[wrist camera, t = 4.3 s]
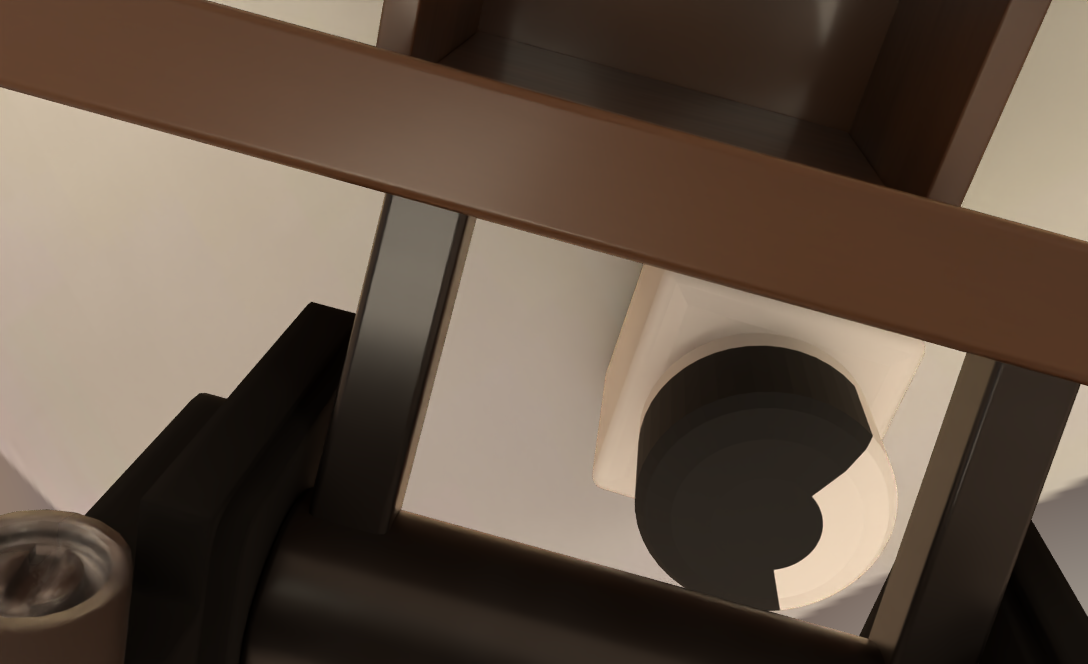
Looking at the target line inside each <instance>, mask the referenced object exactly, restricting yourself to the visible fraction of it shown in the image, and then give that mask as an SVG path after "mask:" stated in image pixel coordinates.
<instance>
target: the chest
mask: <svg viewBox="0 0 1088 664" xmlns="http://www.w3.org/2000/svg"><path fill="white" fill-rule="evenodd" d="M1051 1H1052V0H384V2H383V8H382V14H381V20H380V26H379V32H378V38H377V43H376V47H379V48H383V49H386V50H390V51H393V52H397V53H401V54H404V55H408V56H412V57H415V58H419V59H423V60H426V61H430V62H434V63H437V64H441V65H445V66H448V67H452V68H456V69H459V70H463V71H466V72H470V73H474V74H477V75H481V76H485V77H488V78H492V79H496V80H499V81H503V82H507V83H510V84H514V85H518V86H521V87H525V88H528V89H532V90H536V91H539V92H543V93H547V94H550V95H554V96H558V97H561V98H565V99H569V100H572V101H576V102H580V103H583V104H587V105H590V106H594V107H598V108H601V109H605V110H609V111H612V112H616V113H620V114H623V115H627V116H631V117H634V118H638V119H642V120H645V121H649V122H652V123H656V124H660V125H663V126H667V127H671V128H674V129H678V130H682V131H685V132H689V133H693V134H696V135H700V136H704V137H707V138H711V139H715V140H718V141H722V142H725V143H729V144H733V145H736V146H740V147H744V148H747V149H751V150H755V151H758V152H762V153H766V154H769V155H773V156H777V157H780V158H784V159H787V160H791V161H795V162H798V163H802V164H806V165H809V166H813V167H817V168H820V169H824V170H828V171H831V172H835V173H839V174H842V175H846V176H849V177H853V178H857V179H860V180H864V181H868V182H871V183H875V184H879V185H882V186H886V187H890V188H893V189H897V190H901V191H904V192H908V193H911V194H915V195H919V196H922V197H926V198H930V199H933V200H937V201H941V202H944V203H948V204H952V205H955V206H959V207H960V206H961V204H962V202H963V200H964V197H965V195H966V193H967V191H968V188H969V186H970V184H971V182H972V179H973V177H974V175H975V173H976V170H977V168H978V166H979V164H980V161H981V159H982V157H983V155H984V152H985V150H986V148H987V146H988V143H989V141H990V139H991V137H992V134H993V132H994V130H995V128H996V125H997V123H998V121H999V118H1000V116H1001V114H1002V112H1003V109H1004V107H1005V105H1006V103H1007V100H1008V98H1009V96H1010V94H1011V91H1012V89H1013V87H1014V85H1015V82H1016V80H1017V78H1018V76H1019V73H1020V71H1021V69H1022V67H1023V64H1024V62H1025V60H1026V58H1027V55H1028V53H1029V51H1030V49H1031V46H1032V44H1033V42H1034V40H1035V37H1036V35H1037V33H1038V31H1039V28H1040V26H1041V24H1042V22H1043V19H1044V17H1045V15H1046V13H1047V10H1048V8H1049V6H1050V3H1051Z"/></svg>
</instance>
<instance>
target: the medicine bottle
mask: <svg viewBox="0 0 1088 664" xmlns="http://www.w3.org/2000/svg"><path fill="white" fill-rule="evenodd" d="M924 352H925V344H924V342H923V340H919V339H915V338H912V337H908V336H904V335H901V334H897V333H894V332H890V331H886V330H883V329H879V328H875V327H872V326H868V325H864V324H861V323H857V322H854V321H850V320H846V319H843V318H839V317H835V316H832V315H828V314H824V313H821V312H817V311H814V310H810V309H806V308H803V307H799V306H795V305H792V304H788V303H784V302H781V301H777V300H773V299H770V298H766V297H763V296H759V295H755V294H752V293H748V292H744V291H741V290H737V289H733V288H730V287H726V286H723V285H719V284H715V283H712V282H708V281H704V280H701V279H697V278H693V277H690V276H686V275H683V274H679V273H675V272H672V271H668V270H664V269H661V268H657V267H653V266H650V265H646V264H644V265H643V268H642V270H641V273H640V276H639V279H638V282H637V285H636V288H635V291H634V294H633V297H632V300H631V302H630V305H629V308H628V311H627V314H626V317H625V320H624V323H623V326H622V329H621V332H620V334H619V337H618V340H617V343H616V346H615V349H614V352H613V355H612V358H611V361H610V364H609V366H608V369H607V372H606V377H605V384H604V392H603V399H602V406H601V414H600V421H599V429H598V436H597V443H596V451H595V458H594V465H593V475H592V478H593V481H594V482H595V484H596V486H598V487H600V488H602V489H605V490H608V491H612V492H615V493H618V494H621V495H625V496H628V497H631V498H635V513H636V519H637V525H638V528H639V531H640V534H641V537H642V539H643V541H644V543H645V545H646V547H647V549H648V551H649V553H650V554H651V555H652V557H653V558H654V559H655V561H656V562H657V563H658V565H659V566H660V567H661V568H662V569H663V570H664V571H665V572H666V573H667V574H668V575H669V576H670V577H671V578H672V579H674V580H675V581H676V582H678V583H679V584H680V585H682V586H683V587H685V588H686V589H690V590H693V591H697V592H701V593H704V594H708V595H712V596H715V597H719V598H722V599H726V600H730V601H733V602H737V603H740V604H744V605H748V606H751V607H755V608H759V609H762V610H766V611H775V610H785V609H792V608H798V607H801V606H805V605H809V604H812V603H815V602H817V601H820V600H822V599H825V598H827V597H830V596H832V595H833V594H835V593H837V592H839V591H841V590H842V589H844V588H846V587H847V586H849V585H850V584H851V583H853V582H854V581H856V580H857V579H858V578H859V577H861V576H862V575H863V574H864V573H865V572H866V571H867V570H868V569H869V568H870V567H871V566H872V565H873V563H874V562H875V561H876V559H877V558H878V557H879V556H880V554H881V553H882V551H883V549H884V548H885V546H886V544H887V542H888V541H889V538H890V535H891V533H892V530H893V528H894V524H895V519H896V514H897V503H898V493H897V486H896V479H895V476H894V473H893V470H892V467H891V464H890V461H889V459H888V456H887V453H886V451H885V448H884V445H883V443H882V439H883V437H884V435H885V433H886V431H887V429H888V427H889V425H890V423H891V421H892V419H893V417H894V415H895V413H896V411H897V409H898V407H899V405H900V403H901V401H902V399H903V397H904V395H905V393H906V391H907V389H908V387H909V385H910V383H911V381H912V379H913V376H914V374H915V372H916V370H917V368H918V366H919V364H920V362H921V360H922V358H923V356H924Z"/></svg>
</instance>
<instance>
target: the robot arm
mask: <svg viewBox="0 0 1088 664" xmlns="http://www.w3.org/2000/svg"><path fill="white" fill-rule="evenodd" d="M355 316H356V314H355V313H351V312H348V311H344V310H340V309H336V308H333V307H329V306H325V305H321V304H318V303H314V302H311V303H309V304H308V305H307V306H306V307H305V308H304V310H303V311H302V312H301V313H300V314H299V315H298V317H297V318H296V319H295V320H294V321H293V322H292V324H291V325H290V326H289V327H288V328H287V329H286V331H285V332H284V333H283V334H282V335H281V336H280V338H279V339H278V340H277V341H276V342H275V343H274V345H273V346H272V347H271V348H270V349H269V350H268V352H267V353H266V354H265V355H264V356H263V357H262V359H261V360H260V361H259V362H258V363H257V364H256V366H255V367H254V368H253V369H252V370H251V371H250V373H249V374H248V375H247V376H246V377H245V378H244V380H243V381H242V382H241V383H240V384H239V385H238V387H237V388H236V389H235V390H234V391H233V392H232V394H231V395H230V396H229V397H228V398H227V399H226V398H222V397H219V396H215V395H211V394H207V393H199V394H198V395H197V396H196V397H194V398H193V399H192V400H191V401H190V402H189V403H188V404H187V405H186V406H185V407H184V409H183V410H182V411H181V412H180V413H179V414H178V415H177V416H176V417H175V418H174V419H173V420H172V421H171V423H170V424H169V425H168V426H167V427H166V428H165V429H164V430H163V431H162V432H161V433H160V434H159V436H158V437H157V438H156V439H155V440H154V441H153V442H152V443H151V444H150V445H149V446H148V447H147V448H146V450H145V451H144V452H143V453H142V454H141V455H140V456H139V457H138V458H137V459H136V460H135V461H134V463H133V464H132V465H131V466H130V467H129V468H128V469H127V470H126V471H125V472H124V473H123V474H122V475H121V477H120V478H119V479H118V480H117V481H116V482H115V483H114V484H113V485H112V486H111V487H110V488H109V490H108V491H107V492H106V493H105V494H104V495H103V496H102V497H101V498H100V499H99V500H98V501H97V502H96V504H95V505H94V506H93V507H92V508H91V509H90V510H89V511H88V512H87V513H86V514H85V515H81V514H78V513H75V512H66V511H57V510H48V509H46V510H30V511H16V512H12V513H7V514H4V515H0V664H240V663H241V653H242V646H243V641H244V636H245V631H246V627H247V623H248V619H249V615H250V611H251V607H252V604H253V600H254V597H255V594H256V591H257V588H258V585H259V582H260V579H261V576H262V573H263V570H264V567H265V565H266V562H267V559H268V557H269V554H270V552H271V549H272V547H273V544H274V542H275V540H276V538H277V535H278V533H279V531H280V529H281V527H282V525H283V523H284V521H285V519H286V517H287V515H288V513H289V512H290V510H291V508H292V507H293V505H294V504H295V502H296V501H297V500H298V498H299V497H300V496H301V494H302V493H303V492H304V491H305V490H306V489H308V488H310V487H314V484H315V480H316V476H317V472H318V468H319V464H320V460H321V455H322V451H323V447H324V443H325V439H326V435H327V431H328V427H329V423H330V419H331V414H332V410H333V406H334V402H335V398H336V394H337V390H338V386H339V382H340V377H341V373H342V369H343V365H344V361H345V357H346V353H347V349H348V345H349V340H350V336H351V332H352V328H353V324H354V320H355ZM894 563H895V562H894ZM893 565H894V564H893ZM892 568H893V566H892ZM891 571H892V569H891ZM891 571H890V573H889V575H888V577H887V579H886V581H885V583H884V585H883V587H882V590H881V592H880V594H879V596H878V598H877V600H876V602H875V604H874V606H873V608H872V610H871V612H870V614H869V617H868V619H867V621H866V623H865V625H864V627H863V629H862V632H861V633H860V637H864V638H867V639H868V638H869V635H870V632H871V629H872V627H873V624H874V621H875V618H876V615H877V612H878V609H879V606H880V603H881V600H882V597H883V595H884V592H885V589H886V586H887V583H888V580H889V577H890V574H891ZM979 664H1088V616H1087V615H1086V613H1085V611H1084V610H1083V608H1082V606H1081V604H1080V603H1079V601H1078V600H1077V597H1076V596H1075V594H1074V592H1073V591H1072V589H1071V587H1070V585H1069V584H1068V582H1067V580H1066V579H1065V577H1064V575H1063V573H1062V572H1061V570H1060V568H1059V566H1058V565H1057V563H1056V561H1055V560H1054V558H1053V556H1052V555H1051V553H1050V551H1049V549H1048V548H1047V546H1046V544H1045V543H1044V541H1043V539H1042V537H1041V536H1040V534H1039V532H1038V530H1037V529H1036V527H1035V525H1034V523H1033V522H1032V520H1031V522H1030V524H1029V527H1028V530H1027V533H1026V535H1025V538H1024V541H1023V544H1022V546H1021V549H1020V552H1019V555H1018V557H1017V560H1016V563H1015V566H1014V568H1013V571H1012V574H1011V577H1010V579H1009V582H1008V585H1007V588H1006V590H1005V593H1004V596H1003V599H1002V601H1001V604H1000V607H999V610H998V612H997V615H996V618H995V621H994V623H993V626H992V629H991V632H990V634H989V637H988V640H987V643H986V645H985V648H984V651H983V654H982V656H981V659H980V662H979Z"/></svg>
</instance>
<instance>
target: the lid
mask: <svg viewBox="0 0 1088 664" xmlns="http://www.w3.org/2000/svg"><path fill="white" fill-rule="evenodd" d="M0 87H2V88H6V89H9V90H13V91H17V92H20V93H24V94H27V95H31V96H35V97H38V98H42V99H46V100H49V101H53V102H57V103H60V104H64V105H68V106H71V107H75V108H78V109H82V110H86V111H89V112H93V113H97V114H100V115H104V116H108V117H111V118H115V119H118V120H122V121H126V122H129V123H133V124H137V125H140V126H144V127H148V128H151V129H155V130H158V131H162V132H166V133H169V134H173V135H177V136H180V137H184V138H188V139H191V140H195V141H199V142H202V143H206V144H209V145H213V146H217V147H220V148H224V149H228V150H231V151H235V152H239V153H242V154H246V155H249V156H253V157H257V158H260V159H264V160H268V161H271V162H275V163H279V164H282V165H286V166H289V167H293V168H297V169H300V170H304V171H308V172H311V173H315V174H319V175H322V176H326V177H330V178H333V179H337V180H340V181H344V182H348V183H351V184H355V185H359V186H362V187H366V188H370V189H373V190H377V191H380V192H384V193H385V197H384V201H383V205H382V209H381V213H380V217H379V221H378V225H377V230H376V234H375V238H374V242H373V246H372V250H371V254H370V258H369V262H368V267H367V271H366V275H365V279H364V283H363V287H362V291H361V295H360V299H359V304H358V308H357V312H356V316H355V320H354V324H353V328H352V332H351V336H350V340H349V345H348V349H347V353H346V357H345V361H344V365H343V369H342V373H341V377H340V382H339V386H338V390H337V394H336V398H335V402H334V406H333V410H332V414H331V419H330V423H329V427H328V431H327V435H326V439H325V443H324V447H323V451H322V455H321V460H320V464H319V468H318V472H317V476H316V480H315V484H314V487H310V488H308V489H306V490H305V491H304V492H303V493H302V494H301V496H300V497H299V498H298V500H297V501H296V502H295V504H294V505H293V507H292V508H291V510H290V512H289V513H288V515H287V517H286V519H285V521H284V523H283V525H282V527H281V529H280V531H279V533H278V535H277V538H276V540H275V542H274V544H273V547H272V549H271V552H270V554H269V557H268V559H267V562H266V565H265V567H264V570H263V573H262V576H261V579H260V582H259V585H258V588H257V591H256V594H255V597H254V600H253V604H252V607H251V611H250V615H249V619H248V623H247V627H246V631H245V636H244V641H243V646H242V653H241V663H240V664H979V662H980V659H981V656H982V654H983V651H984V648H985V645H986V643H987V640H988V637H989V634H990V632H991V629H992V626H993V623H994V621H995V618H996V615H997V612H998V610H999V607H1000V604H1001V601H1002V599H1003V596H1004V593H1005V590H1006V588H1007V585H1008V582H1009V579H1010V577H1011V574H1012V571H1013V568H1014V566H1015V563H1016V560H1017V557H1018V555H1019V552H1020V549H1021V546H1022V544H1023V541H1024V538H1025V535H1026V533H1027V530H1028V527H1029V524H1030V522H1031V519H1032V516H1033V513H1034V511H1035V508H1036V505H1037V502H1038V500H1039V497H1040V494H1041V491H1042V489H1043V486H1044V483H1045V480H1046V478H1047V475H1048V472H1049V470H1050V467H1051V464H1052V461H1053V459H1054V456H1055V453H1056V450H1057V448H1058V445H1059V442H1060V439H1061V437H1062V434H1063V431H1064V428H1065V426H1066V423H1067V420H1068V417H1069V415H1070V412H1071V409H1072V406H1073V404H1074V401H1075V398H1076V395H1077V393H1078V390H1079V387H1080V384H1083V385H1086V386H1088V242H1087V241H1083V240H1079V239H1076V238H1072V237H1068V236H1065V235H1061V234H1057V233H1054V232H1050V231H1046V230H1043V229H1039V228H1036V227H1032V226H1028V225H1025V224H1021V223H1017V222H1014V221H1010V220H1006V219H1003V218H999V217H995V216H992V215H988V214H984V213H981V212H977V211H974V210H970V209H966V208H963V207H959V206H955V205H952V204H948V203H944V202H941V201H937V200H933V199H930V198H926V197H922V196H919V195H915V194H911V193H908V192H904V191H901V190H897V189H893V188H890V187H886V186H882V185H879V184H875V183H871V182H868V181H864V180H860V179H857V178H853V177H849V176H846V175H842V174H839V173H835V172H831V171H828V170H824V169H820V168H817V167H813V166H809V165H806V164H802V163H798V162H795V161H791V160H787V159H784V158H780V157H777V156H773V155H769V154H766V153H762V152H758V151H755V150H751V149H747V148H744V147H740V146H736V145H733V144H729V143H725V142H722V141H718V140H715V139H711V138H707V137H704V136H700V135H696V134H693V133H689V132H685V131H682V130H678V129H674V128H671V127H667V126H663V125H660V124H656V123H652V122H649V121H645V120H642V119H638V118H634V117H631V116H627V115H623V114H620V113H616V112H612V111H609V110H605V109H601V108H598V107H594V106H590V105H587V104H583V103H580V102H576V101H572V100H569V99H565V98H561V97H558V96H554V95H550V94H547V93H543V92H539V91H536V90H532V89H528V88H525V87H521V86H518V85H514V84H510V83H507V82H503V81H499V80H496V79H492V78H488V77H485V76H481V75H477V74H474V73H470V72H466V71H463V70H459V69H456V68H452V67H448V66H445V65H441V64H437V63H434V62H430V61H426V60H423V59H419V58H415V57H412V56H408V55H404V54H401V53H397V52H393V51H390V50H386V49H383V48H379V47H375V46H372V45H368V44H364V43H361V42H357V41H353V40H350V39H346V38H342V37H339V36H335V35H331V34H328V33H324V32H321V31H317V30H313V29H310V28H306V27H302V26H299V25H295V24H291V23H288V22H284V21H280V20H277V19H273V18H269V17H266V16H262V15H259V14H255V13H251V12H248V11H244V10H240V9H237V8H233V7H229V6H226V5H222V4H218V3H215V2H211V1H207V0H0ZM476 218H479V219H482V220H486V221H490V222H493V223H497V224H501V225H504V226H508V227H511V228H515V229H519V230H522V231H526V232H530V233H533V234H537V235H541V236H544V237H548V238H552V239H555V240H559V241H562V242H566V243H570V244H573V245H577V246H581V247H584V248H588V249H592V250H595V251H599V252H602V253H606V254H610V255H613V256H617V257H621V258H624V259H628V260H632V261H635V262H639V263H642V264H646V265H650V266H653V267H657V268H661V269H664V270H668V271H672V272H675V273H679V274H683V275H686V276H690V277H693V278H697V279H701V280H704V281H708V282H712V283H715V284H719V285H723V286H726V287H730V288H733V289H737V290H741V291H744V292H748V293H752V294H755V295H759V296H763V297H766V298H770V299H773V300H777V301H781V302H784V303H788V304H792V305H795V306H799V307H803V308H806V309H810V310H814V311H817V312H821V313H824V314H828V315H832V316H835V317H839V318H843V319H846V320H850V321H854V322H857V323H861V324H864V325H868V326H872V327H875V328H879V329H883V330H886V331H890V332H894V333H897V334H901V335H904V336H908V337H912V338H915V339H919V340H923V341H926V342H930V343H934V344H937V345H941V346H945V347H948V348H952V349H955V350H959V351H963V352H966V356H965V359H964V362H963V365H962V368H961V370H960V373H959V376H958V379H957V382H956V385H955V388H954V391H953V394H952V397H951V400H950V402H949V405H948V408H947V411H946V414H945V417H944V420H943V423H942V426H941V429H940V432H939V434H938V437H937V440H936V443H935V446H934V449H933V452H932V455H931V458H930V461H929V464H928V466H927V469H926V472H925V475H924V478H923V481H922V484H921V487H920V490H919V493H918V496H917V498H916V501H915V504H914V507H913V510H912V513H911V516H910V519H909V522H908V525H907V528H906V530H905V533H904V536H903V539H902V542H901V545H900V548H899V551H898V554H897V557H896V560H895V563H894V565H893V568H892V571H891V574H890V577H889V580H888V583H887V586H886V589H885V592H884V595H883V597H882V600H881V603H880V606H879V609H878V612H877V615H876V618H875V621H874V624H873V627H872V629H871V632H870V635H869V638H868V639H867V638H864V637H860V636H856V635H853V634H849V633H845V632H841V631H838V630H835V629H831V628H827V627H824V626H820V625H817V624H813V623H809V622H805V621H802V620H798V619H795V618H791V617H788V616H784V615H780V614H777V613H773V612H769V611H766V610H762V609H759V608H755V607H751V606H748V605H744V604H740V603H737V602H733V601H730V600H726V599H722V598H719V597H715V596H712V595H708V594H704V593H701V592H697V591H693V590H690V589H686V588H683V587H679V586H675V585H672V584H668V583H664V582H661V581H657V580H654V579H650V578H646V577H643V576H639V575H636V574H632V573H628V572H625V571H621V570H617V569H614V568H610V567H607V566H603V565H599V564H596V563H592V562H588V561H585V560H581V559H578V558H574V557H570V556H567V555H563V554H559V553H556V552H552V551H549V550H545V549H541V548H538V547H534V546H531V545H527V544H523V543H520V542H516V541H512V540H509V539H505V538H502V537H498V536H494V535H491V534H487V533H483V532H480V531H476V530H473V529H469V528H465V527H462V526H458V525H455V524H451V523H447V522H444V521H440V520H436V519H433V518H429V517H426V516H422V515H418V514H415V513H411V512H407V511H404V510H401V508H402V504H403V500H404V496H405V493H406V489H407V485H408V481H409V477H410V473H411V469H412V466H413V462H414V458H415V454H416V450H417V446H418V442H419V439H420V435H421V431H422V427H423V423H424V419H425V415H426V411H427V408H428V404H429V400H430V396H431V392H432V388H433V384H434V381H435V377H436V373H437V369H438V365H439V361H440V357H441V354H442V350H443V346H444V342H445V338H446V334H447V330H448V327H449V323H450V319H451V315H452V311H453V307H454V303H455V299H456V296H457V292H458V288H459V284H460V280H461V276H462V272H463V269H464V265H465V261H466V257H467V253H468V249H469V245H470V242H471V238H472V234H473V230H474V226H475V222H476Z"/></svg>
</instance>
